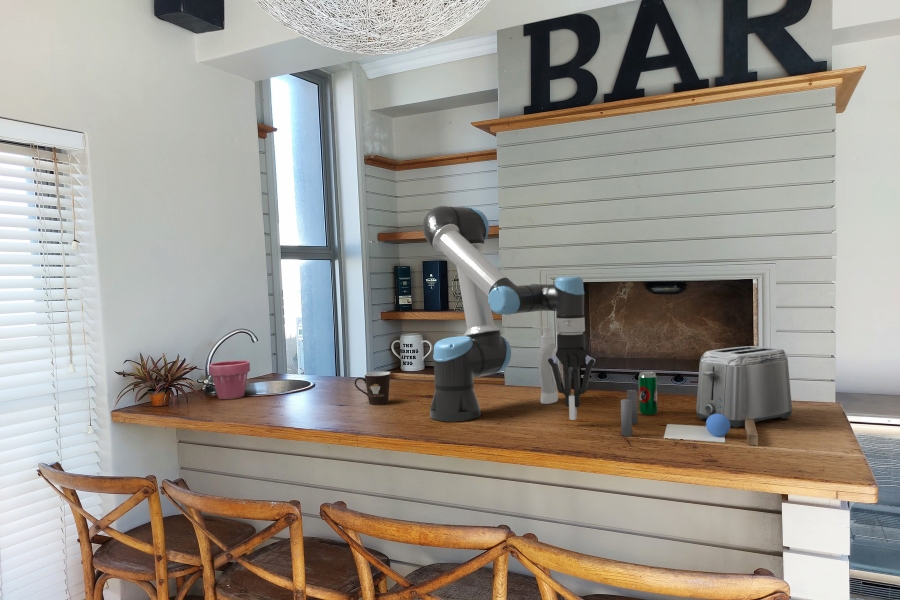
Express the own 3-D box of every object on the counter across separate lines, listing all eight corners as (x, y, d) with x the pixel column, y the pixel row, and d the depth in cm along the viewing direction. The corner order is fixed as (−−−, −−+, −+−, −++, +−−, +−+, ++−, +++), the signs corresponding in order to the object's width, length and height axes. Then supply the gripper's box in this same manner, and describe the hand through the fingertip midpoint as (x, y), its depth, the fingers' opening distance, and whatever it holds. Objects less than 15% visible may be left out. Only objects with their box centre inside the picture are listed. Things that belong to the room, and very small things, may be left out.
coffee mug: (396, 401, 209) (395, 372, 209) (380, 406, 202) (379, 376, 201) (370, 398, 215) (368, 370, 215) (353, 403, 208) (352, 374, 208)
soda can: (658, 415, 177) (657, 374, 176) (640, 415, 178) (639, 374, 177) (656, 411, 182) (655, 371, 181) (638, 411, 183) (637, 371, 182)
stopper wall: (748, 445, 145) (748, 434, 145) (745, 428, 160) (744, 418, 160) (757, 446, 144) (757, 435, 144) (753, 429, 159) (753, 419, 159)
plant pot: (228, 392, 237) (227, 359, 237) (259, 393, 233) (257, 360, 232) (202, 400, 224) (200, 365, 223) (234, 401, 219) (232, 366, 219)
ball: (702, 419, 152) (726, 415, 150) (703, 413, 157) (726, 409, 155) (708, 440, 152) (733, 437, 150) (709, 434, 157) (733, 430, 155)
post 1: (620, 436, 157) (620, 401, 156) (622, 433, 159) (621, 399, 159) (631, 436, 156) (630, 401, 155) (632, 434, 158) (631, 399, 158)
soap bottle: (541, 396, 209) (539, 324, 208) (563, 397, 205) (561, 325, 204) (527, 404, 198) (525, 328, 197) (550, 405, 194) (548, 328, 193)
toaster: (683, 418, 173) (682, 351, 172) (760, 406, 184) (759, 342, 183) (732, 432, 157) (731, 358, 156) (812, 417, 169) (811, 348, 168)
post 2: (627, 424, 168) (626, 391, 168) (628, 421, 171) (627, 389, 170) (636, 424, 167) (636, 391, 167) (638, 422, 170) (637, 390, 169)
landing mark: (663, 438, 153) (663, 437, 153) (667, 424, 166) (667, 424, 166) (725, 442, 148) (725, 441, 148) (724, 428, 161) (724, 427, 161)
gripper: (544, 334, 167) (546, 420, 168) (592, 334, 162) (594, 423, 163) (550, 331, 174) (553, 414, 175) (597, 331, 169) (599, 416, 170)
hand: (573, 418), depth 169 cm, fingers closed
